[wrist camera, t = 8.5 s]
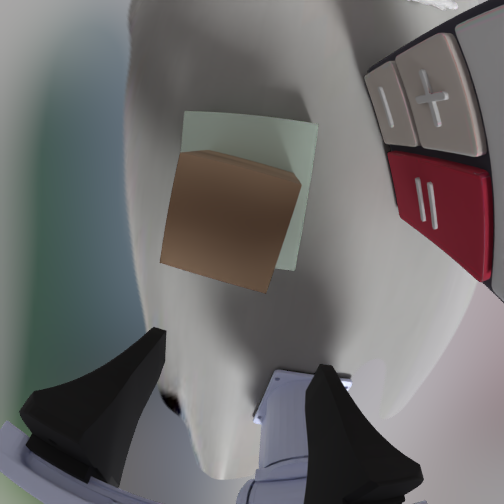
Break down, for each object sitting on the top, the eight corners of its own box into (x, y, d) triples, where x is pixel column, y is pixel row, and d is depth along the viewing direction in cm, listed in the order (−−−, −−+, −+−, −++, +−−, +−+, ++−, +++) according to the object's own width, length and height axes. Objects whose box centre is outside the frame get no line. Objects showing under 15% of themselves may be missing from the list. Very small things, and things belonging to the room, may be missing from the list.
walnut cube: (268, 252, 17) (266, 293, 13) (189, 230, 17) (159, 262, 12) (293, 172, 15) (302, 184, 11) (208, 149, 15) (180, 152, 11)
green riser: (292, 252, 20) (294, 271, 18) (189, 238, 21) (176, 254, 18) (311, 126, 17) (318, 124, 14) (197, 114, 17) (184, 111, 14)
